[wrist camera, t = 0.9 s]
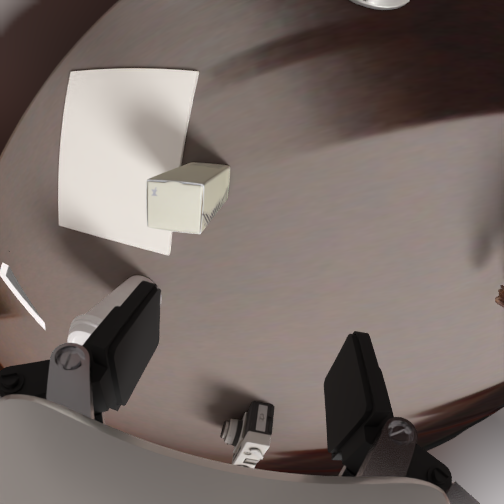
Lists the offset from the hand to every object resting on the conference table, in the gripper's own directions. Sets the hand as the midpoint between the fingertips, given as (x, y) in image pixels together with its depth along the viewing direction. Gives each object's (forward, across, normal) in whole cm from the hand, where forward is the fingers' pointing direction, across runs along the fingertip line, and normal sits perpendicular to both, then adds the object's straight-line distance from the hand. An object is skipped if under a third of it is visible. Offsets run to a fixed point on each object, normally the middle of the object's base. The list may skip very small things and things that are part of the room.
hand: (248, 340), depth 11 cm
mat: (+26, +22, -1) cm, 34 cm away
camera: (+26, -5, +44) cm, 51 cm away
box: (+26, +8, 0) cm, 27 cm away
